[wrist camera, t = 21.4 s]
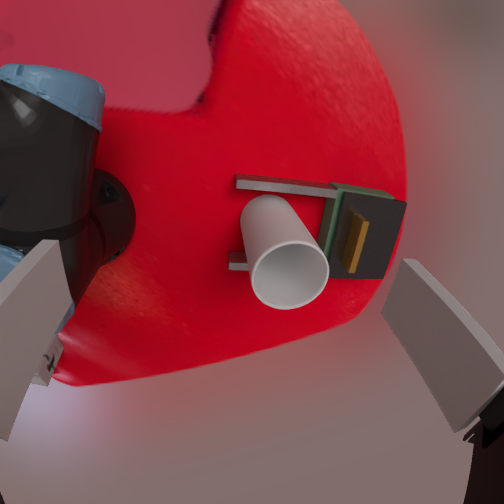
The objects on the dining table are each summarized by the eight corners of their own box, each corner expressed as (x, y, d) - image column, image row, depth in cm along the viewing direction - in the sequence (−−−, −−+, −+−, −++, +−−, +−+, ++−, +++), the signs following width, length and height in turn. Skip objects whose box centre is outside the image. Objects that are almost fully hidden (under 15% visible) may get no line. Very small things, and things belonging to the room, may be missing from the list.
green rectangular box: (312, 263, 48) (318, 274, 45) (329, 182, 41) (338, 188, 38) (363, 265, 49) (371, 275, 46) (383, 190, 43) (394, 197, 40)
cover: (323, 275, 44) (331, 288, 41) (343, 191, 38) (355, 199, 35) (381, 276, 46) (391, 288, 42) (404, 201, 40) (417, 209, 36)
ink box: (38, 345, 51) (20, 381, 41) (30, 330, 49) (9, 366, 38) (65, 348, 52) (48, 388, 42) (56, 332, 50) (37, 372, 39)
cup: (289, 188, 41) (326, 233, 27) (297, 238, 45) (331, 298, 31) (234, 201, 41) (243, 253, 27) (246, 250, 45) (259, 317, 31)
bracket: (227, 257, 46) (228, 269, 42) (235, 173, 39) (237, 179, 36) (312, 261, 48) (318, 273, 44) (329, 183, 42) (337, 190, 38)
